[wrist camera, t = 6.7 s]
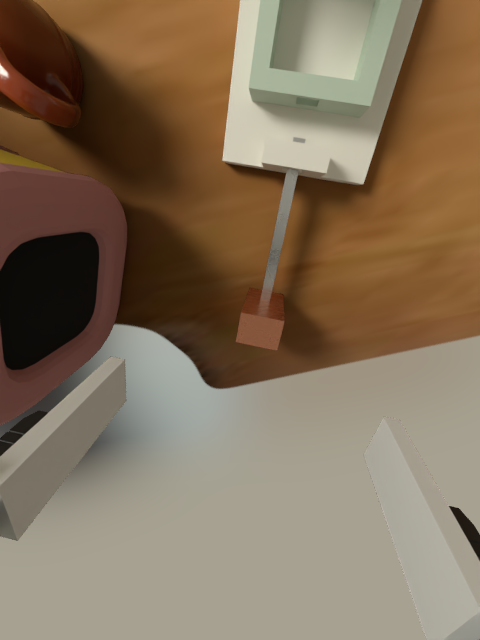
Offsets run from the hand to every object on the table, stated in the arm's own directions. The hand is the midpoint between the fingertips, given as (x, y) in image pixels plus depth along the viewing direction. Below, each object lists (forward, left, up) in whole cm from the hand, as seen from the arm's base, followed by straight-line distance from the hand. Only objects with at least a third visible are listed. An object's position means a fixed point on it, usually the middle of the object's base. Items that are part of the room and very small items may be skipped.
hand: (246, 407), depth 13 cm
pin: (0, +6, -16) cm, 17 cm away
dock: (0, +19, -17) cm, 25 cm away
